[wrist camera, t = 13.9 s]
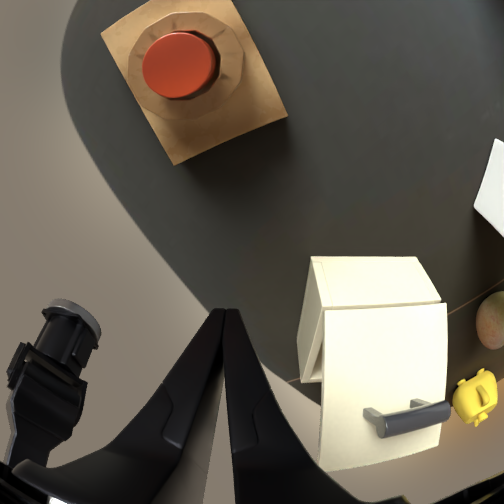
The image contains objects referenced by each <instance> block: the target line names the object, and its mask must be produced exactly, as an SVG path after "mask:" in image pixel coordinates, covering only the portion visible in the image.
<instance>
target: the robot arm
mask: <svg viewBox="0 0 504 504" xmlns="http://www.w3.org/2000/svg"><path fill="white" fill-rule="evenodd" d="M42 314H43V316H44V317H45V319H46V320H47V321H46V323H45V325H44V326H43V329H42V330H41V332H40V334H39V336H38V338H37V340H36V342H35V344H34V346H32V345H31V344H30V343H29V342H27V344H24V343H22V342H20V344H19V346H18V348H17V350H16V352H15V354H14V357H13V358H12V361H11V363H10V365H9V367H8V369H7V371H6V372H7V375H8V384H7V387H8V388H9V389H10V390H11V393H10V395H9V398H8V400H7V403H6V410H7V415H8V420H9V425H10V429H11V435H10V439H9V442H8V446H7V449H6V453H5V457H4V461H3V462H1V461H0V504H202V503H203V498H204V492H205V486H206V479H207V474H208V468H209V462H210V456H211V450H212V445H213V439H214V433H215V427H216V421H217V416H218V410H219V404H220V398H221V393H222V387H223V382H224V376H225V388H226V401H227V413H228V425H229V435H230V445H231V453H232V465H233V476H234V477H233V478H234V491H235V503H236V504H411V503H410V502H409V501H408V500H407V498H406V497H405V496H404V495H398V496H395V497H391V498H387V499H384V500H380V501H375V502H364V501H361V500H359V499H357V498H356V497H354V496H353V495H352V494H350V493H349V492H348V491H347V490H346V489H344V488H343V487H342V486H341V485H340V484H339V483H337V482H336V481H335V480H334V479H333V478H332V477H330V476H329V475H328V474H327V473H326V472H325V471H324V470H323V469H321V468H320V467H319V465H318V464H317V463H316V462H315V461H314V460H313V458H312V457H311V456H310V454H309V453H308V452H307V450H306V449H305V447H304V446H303V444H302V443H301V441H300V440H299V438H298V436H297V435H296V434H295V432H294V431H293V429H292V427H291V426H290V424H289V422H288V421H287V419H286V417H285V416H284V414H283V412H282V410H281V408H280V406H279V404H278V402H277V400H276V398H275V395H274V393H273V391H272V389H271V386H270V384H269V382H268V380H267V377H266V375H265V372H264V370H263V368H262V365H261V363H260V360H259V358H258V356H257V353H256V351H255V348H254V346H253V344H252V341H251V339H250V336H249V334H248V331H247V329H246V326H245V324H244V321H243V319H242V316H241V314H240V311H239V310H238V309H227V310H226V309H224V308H214V309H213V310H212V311H211V313H210V314H209V316H208V317H207V319H206V320H205V322H204V323H203V324H202V326H201V327H200V329H199V330H198V331H197V333H196V334H195V336H194V337H193V339H192V340H191V342H190V343H189V345H188V346H187V347H186V349H185V350H184V352H183V353H182V355H181V356H180V357H179V359H178V360H177V362H176V363H175V364H174V366H173V368H172V369H171V370H170V372H169V373H168V375H167V376H166V377H165V379H164V380H163V383H161V384H160V386H159V387H158V389H157V390H156V392H155V393H154V394H153V396H152V397H151V398H150V400H149V401H148V402H147V404H146V405H145V406H144V407H143V408H142V409H141V410H140V412H139V413H138V414H137V415H136V416H135V417H134V418H133V419H132V420H131V421H130V423H129V424H128V425H127V426H126V427H125V428H124V429H123V430H122V431H121V432H120V433H119V434H118V436H117V437H116V438H115V439H114V440H113V441H111V442H110V443H109V444H108V445H106V446H105V447H103V448H102V449H100V450H98V451H95V452H93V453H91V454H89V455H86V456H84V457H82V458H79V459H77V460H75V461H72V462H70V463H67V464H65V465H62V466H59V467H56V468H46V465H47V461H48V457H49V453H50V451H51V450H52V449H54V448H55V447H56V446H58V445H59V444H60V443H61V442H63V441H66V440H67V439H69V438H70V437H71V436H72V431H73V427H75V426H76V424H77V423H78V422H79V419H80V417H81V415H82V411H83V406H84V400H85V394H86V388H87V384H88V383H87V382H86V381H84V380H81V379H80V378H79V376H80V373H81V370H82V368H85V367H86V365H87V362H88V359H89V357H90V354H91V352H92V349H96V350H97V349H98V347H99V346H98V344H97V342H96V341H95V339H94V337H93V336H92V334H91V332H90V331H89V329H88V327H87V326H86V324H85V322H84V320H83V319H82V317H81V316H80V315H79V314H76V313H69V312H62V311H56V310H49V309H43V310H42ZM24 360H27V361H28V362H25V361H24ZM430 504H504V470H503V471H501V472H500V473H498V474H495V475H493V476H491V477H489V478H486V479H484V480H482V481H480V482H477V483H475V484H473V485H471V486H469V487H466V488H464V489H462V490H460V491H457V492H455V493H453V494H451V495H449V496H447V497H445V498H442V499H440V500H438V501H435V502H433V503H430Z"/></svg>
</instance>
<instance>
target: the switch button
mask: <svg viewBox="0 0 504 504" xmlns="http://www.w3.org/2000/svg"><path fill="white" fill-rule="evenodd" d="M215 67H216V58H215V54H214V52H213V50H212V48H211V47H210V46H209V44H208V43H206V42H205V41H204V40H202V39H200V38H198V37H197V36H194V35H192V34H189V33H183V32H178V33H171V34H168V35H165V36H163V37H161V38H159V39H158V40H156V41H155V42H154V43H153V44H152V45H151V46H150V47H149V49H148V50H147V52H146V54H145V56H144V59H143V63H142V73H143V77H144V80H145V82H146V84H147V85H148V87H149V88H150V89H151V90H152V91H153V92H155V93H156V94H158V95H160V96H163V97H167V98H180V97H184V96H187V95H190V94H192V93H195V92H197V91H199V90H200V89H202V88H203V87H204V86H205V85H207V84H208V82H209V81H210V80H211V78H212V76H213V74H214V71H215Z"/></svg>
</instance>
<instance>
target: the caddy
mask: <svg viewBox="0 0 504 504" xmlns="http://www.w3.org/2000/svg"><path fill="white" fill-rule="evenodd" d="M440 301H441V298H440V296H439V294H438V292H437V291H436V289H435V287H434V285H433V284H432V282H431V280H430V279H429V277H428V275H427V274H426V272H425V270H424V269H423V267H422V266H421V264H420V262H419V261H418V259H417V258H416V257H324V256H311V259H310V266H309V272H308V278H307V284H306V290H305V296H304V301H303V307H302V312H301V318H300V323H299V328H298V334H297V348H298V357H299V367H300V377H301V383H308V382H309V383H311V382H322V346H323V328H322V312H323V311H326V310H353V309H373V308H390V307H404V306H417V305H429V304H439V303H440Z"/></svg>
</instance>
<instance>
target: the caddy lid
mask: <svg viewBox="0 0 504 504" xmlns="http://www.w3.org/2000/svg"><path fill="white" fill-rule="evenodd" d="M322 328H323V346H322V393H321V415H320V432H319V446H318V460H317V464H318V465H319V467H320V468H321V469H323V470H324V471H325V472H329V471H337V470H343V469H350V468H355V467H361V466H366V465H371V464H375V463H380V462H384V461H388V460H392V459H396V458H399V457H403V456H407V455H410V454H414V453H417V452H420V451H424V450H427V449H430V448H433V447H435V446H438V442H439V436H440V430H441V424H442V423H443V422H445V421H447V420H448V419H449V417H450V414H451V407H450V404H449V402H448V401H446V400H445V389H446V375H447V306H446V303H440V304H429V305H417V306H404V307H390V308H373V309H353V310H326V311H323V312H322Z"/></svg>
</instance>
